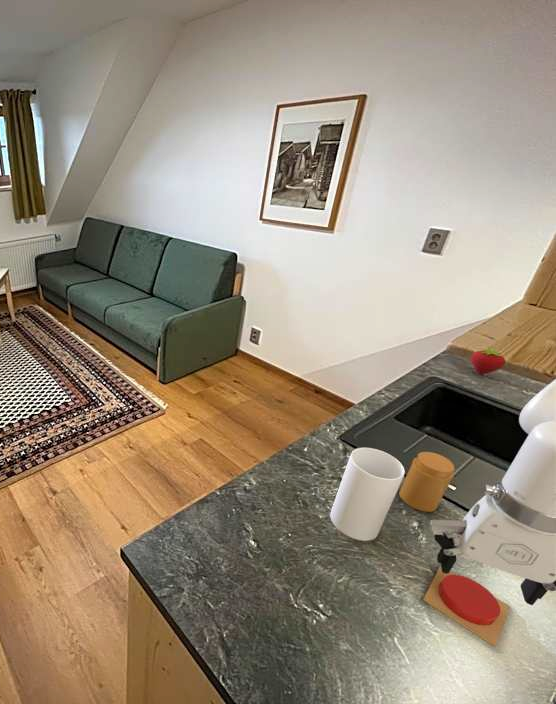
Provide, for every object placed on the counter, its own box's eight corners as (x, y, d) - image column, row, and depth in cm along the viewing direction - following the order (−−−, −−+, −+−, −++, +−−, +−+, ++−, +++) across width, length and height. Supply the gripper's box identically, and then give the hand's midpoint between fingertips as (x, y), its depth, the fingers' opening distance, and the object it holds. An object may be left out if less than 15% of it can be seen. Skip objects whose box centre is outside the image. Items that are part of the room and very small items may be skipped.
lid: (441, 610, 64) (445, 603, 63) (435, 574, 69) (439, 567, 69) (500, 634, 61) (505, 628, 60) (490, 594, 66) (495, 587, 65)
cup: (331, 500, 85) (350, 442, 77) (377, 515, 81) (403, 456, 73) (328, 529, 79) (350, 469, 71) (379, 547, 75) (407, 486, 67)
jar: (441, 500, 83) (461, 462, 78) (431, 517, 80) (451, 478, 75) (405, 482, 88) (421, 445, 83) (394, 497, 84) (410, 460, 79)
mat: (509, 607, 65) (510, 606, 64) (495, 647, 60) (496, 645, 60) (439, 567, 71) (440, 565, 71) (422, 600, 66) (423, 598, 66)
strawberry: (495, 383, 119) (510, 353, 114) (462, 373, 124) (475, 345, 119) (498, 375, 122) (513, 346, 117) (466, 366, 127) (479, 338, 122)
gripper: (455, 500, 56) (415, 574, 64) (644, 555, 47) (571, 633, 56) (448, 465, 61) (412, 538, 70) (616, 510, 53) (553, 586, 61)
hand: (483, 580), depth 63 cm, fingers open, 9 cm apart
